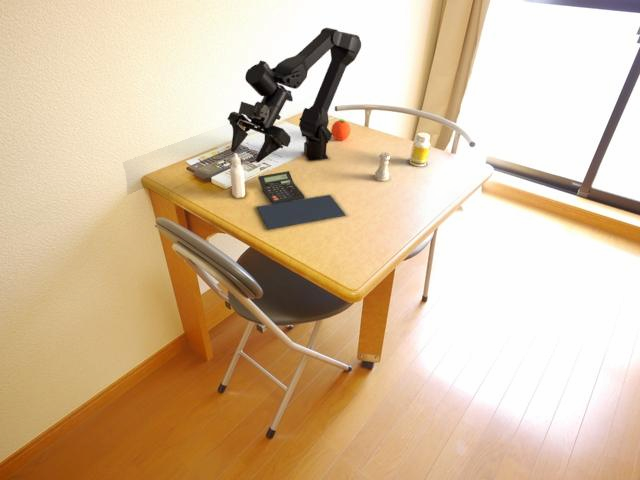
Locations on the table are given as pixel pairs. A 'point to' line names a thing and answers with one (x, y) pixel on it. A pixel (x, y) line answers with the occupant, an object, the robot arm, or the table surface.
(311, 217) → the placemat
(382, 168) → the rook chess piece
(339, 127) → the clementine
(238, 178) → the eye dropper bottle
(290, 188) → the calculator
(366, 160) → the table surface
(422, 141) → the supplement bottle
